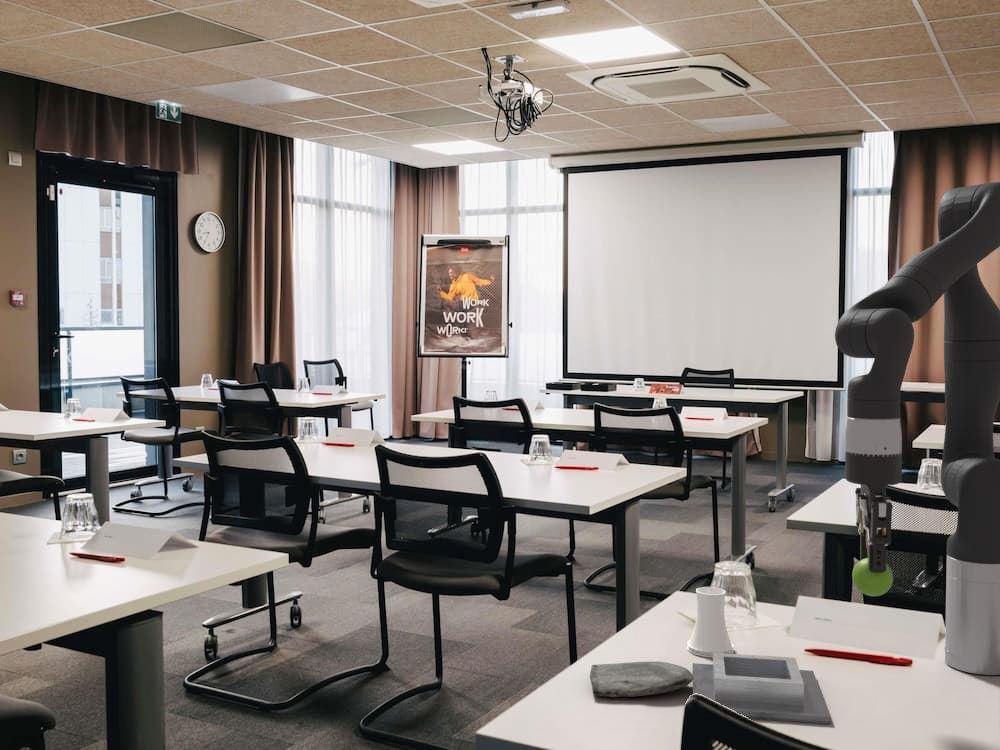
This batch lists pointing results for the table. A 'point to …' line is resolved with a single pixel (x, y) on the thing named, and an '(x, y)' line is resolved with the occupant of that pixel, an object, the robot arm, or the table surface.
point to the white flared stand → (710, 624)
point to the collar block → (762, 687)
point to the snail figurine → (871, 577)
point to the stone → (638, 678)
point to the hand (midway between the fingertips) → (872, 566)
